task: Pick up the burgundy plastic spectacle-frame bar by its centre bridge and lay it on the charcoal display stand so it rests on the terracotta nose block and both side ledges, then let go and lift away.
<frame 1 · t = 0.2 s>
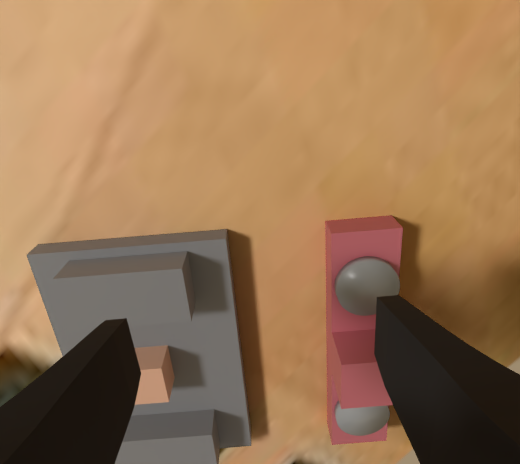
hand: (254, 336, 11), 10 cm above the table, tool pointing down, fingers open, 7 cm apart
frame bar: (353, 328, 24), on the table
display stand: (158, 348, 24), on the table
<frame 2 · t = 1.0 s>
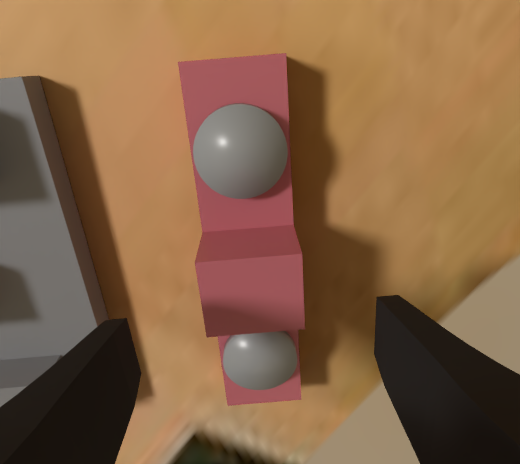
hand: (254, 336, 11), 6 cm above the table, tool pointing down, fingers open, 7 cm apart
frame bar: (250, 241, 17), on the table
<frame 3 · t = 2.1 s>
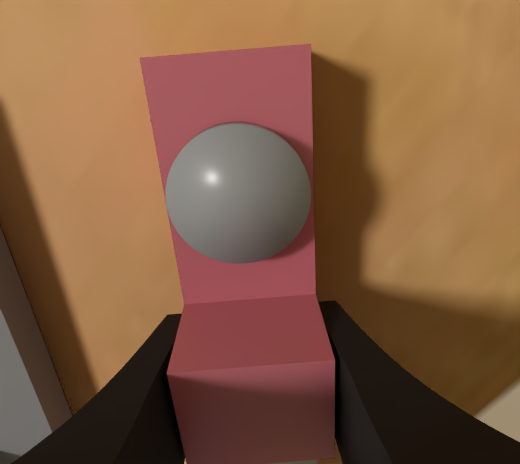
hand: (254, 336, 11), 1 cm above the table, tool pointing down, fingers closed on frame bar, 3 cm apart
frame bar: (253, 303, 13), on the table, touching gripper
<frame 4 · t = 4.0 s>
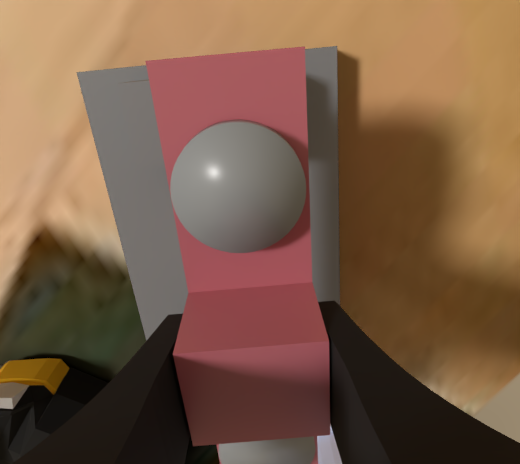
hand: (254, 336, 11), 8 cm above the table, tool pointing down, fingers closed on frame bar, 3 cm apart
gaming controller: (80, 422, 24), on the table
frame bar: (254, 293, 13), point 6 cm above the table, touching gripper
display stand: (231, 227, 19), on the table
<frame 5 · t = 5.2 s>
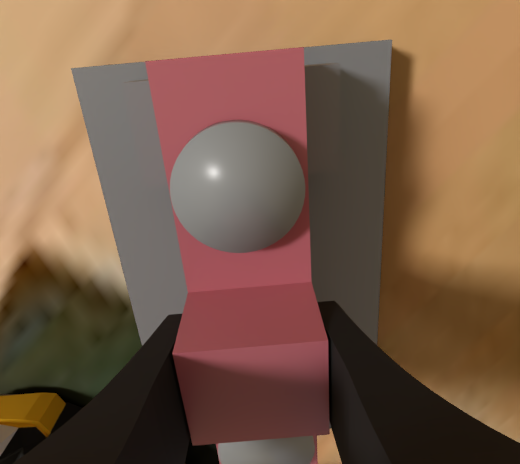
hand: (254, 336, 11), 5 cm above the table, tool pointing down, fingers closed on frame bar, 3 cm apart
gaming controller: (77, 460, 22), on the table
frame bar: (253, 293, 13), point 3 cm above the table, touching gripper
display stand: (252, 252, 16), on the table
when the fingers open (5 cm above the table, at t = 5.2 s): frame bar stays where it is, resting on display stand.
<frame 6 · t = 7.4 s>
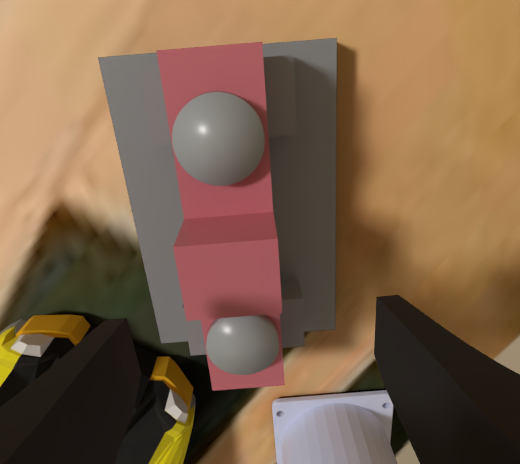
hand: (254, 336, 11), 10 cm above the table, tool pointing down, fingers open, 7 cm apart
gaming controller: (96, 381, 25), on the table
frame bar: (234, 230, 18), point 3 cm above the table, touching display stand
display stand: (235, 206, 20), on the table
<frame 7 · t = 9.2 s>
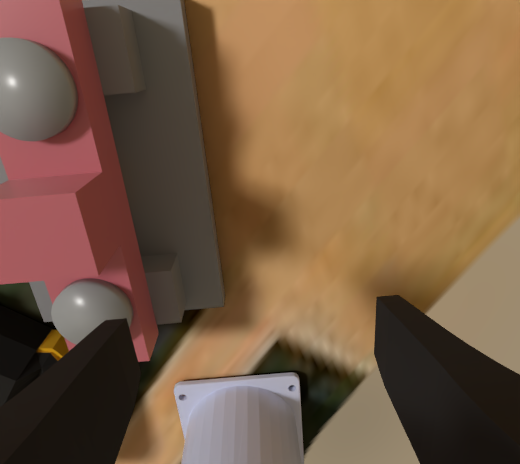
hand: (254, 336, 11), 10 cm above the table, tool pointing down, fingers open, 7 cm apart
frame bar: (86, 197, 17), point 3 cm above the table, touching display stand
display stand: (108, 177, 20), on the table
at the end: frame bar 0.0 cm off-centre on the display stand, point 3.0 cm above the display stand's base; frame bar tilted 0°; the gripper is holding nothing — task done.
